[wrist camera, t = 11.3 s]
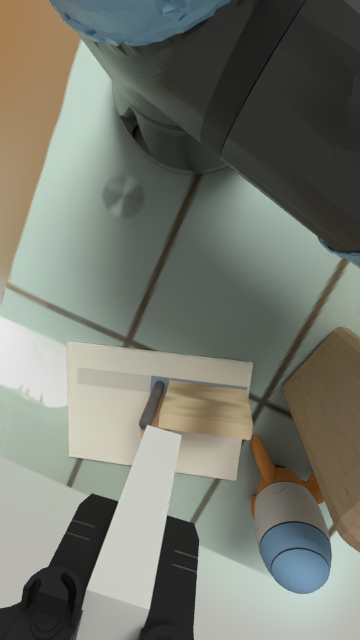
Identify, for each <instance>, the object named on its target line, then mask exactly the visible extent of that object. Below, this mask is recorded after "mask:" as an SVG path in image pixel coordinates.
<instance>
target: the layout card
mask: <svg viewBox="0 0 360 640" xmlns="http://www.w3.org/2000/svg"><path fill="white" fill-rule="evenodd" d="M252 370H253V362H246V361H237V360H229V359H220V358H211V357H203V356H194V355H185V354H176V353H168V352H159V351H150V350H142V349H133V348H124V347H116V346H107V345H98V344H89V343H81V342H72V341H69V342H67V377H68V433H69V456H70V457H77V458H83V459H90V460H97V461H104V462H111V463H117V464H124V465H131V466H132V465H133V462H134V459H135V456H136V454H137V451H138V448H139V446H140V443H141V432H140V429H141V428H140V426H139V421H140V419H141V416H142V414H143V411H144V409H145V407H146V404H147V402H148V399H149V397H150V395H151V392H152V390H153V387H154V385H155V383H156V382H157V381H162V382H163V383H164V384H165V387H164V390H163V393H162V396H165V395H166V392H167V389H168V386H169V383H170V380H171V381H179V382H187V383H195V384H203V385H211V386H220V387H228V388H236V389H244V390H247V393H248V397H249V390H250V383H251V377H252ZM170 432H173V433H176V434H180V435H182V436H181V442H180V447H179V453H178V458H177V463H176V469H175V472H179V473H185V474H192V475H199V476H206V477H212V478H219V479H226V480H233V481H236V477H237V471H238V464H239V457H240V451H241V444H242V439H237V438H230V437H222V436H215V435H208V434H200V433H193V432H186V431H178V430H171V429H170Z"/></svg>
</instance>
